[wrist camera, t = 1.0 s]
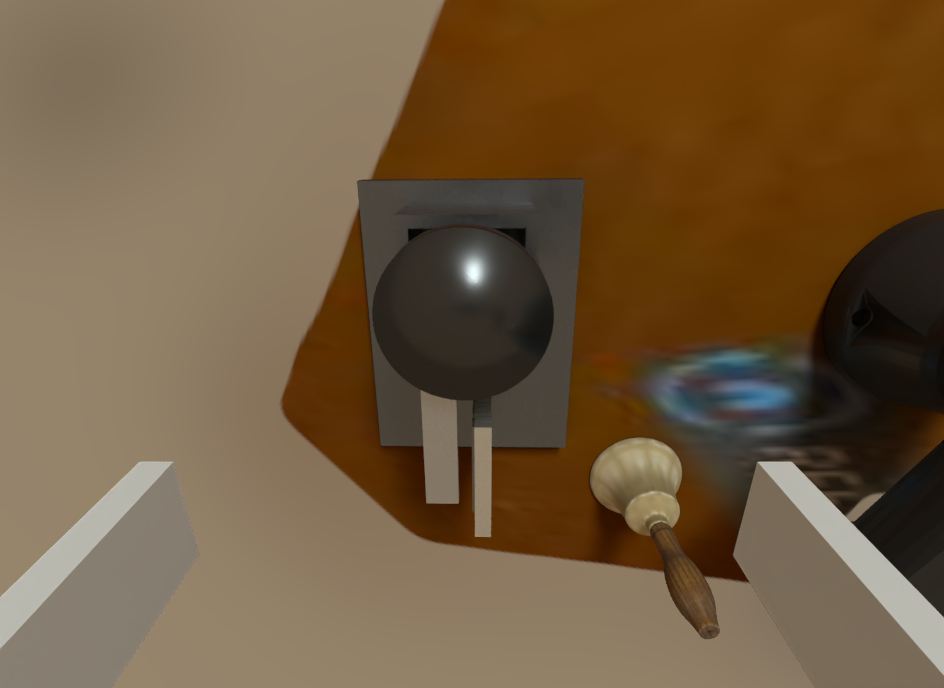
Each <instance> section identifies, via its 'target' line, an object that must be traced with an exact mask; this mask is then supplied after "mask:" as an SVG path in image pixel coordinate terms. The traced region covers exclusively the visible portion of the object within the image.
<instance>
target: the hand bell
mask: <svg viewBox="0 0 944 688" xmlns="http://www.w3.org/2000/svg"><path fill="white" fill-rule="evenodd" d="M681 478H682V467H681V463H680V460H679V458H678V456H677V455H676V454H675V452H674V451H673V450H672V449H671V448H670V447H669V446H667V445H666V444H664V443H662V442H660V441H657V440H654V439H650V438H630V439H625V440H622V441H619V442H617V443H615V444H613V445H611V446H610V447H608V448H607V449H606V450H604V451H603V452H602V453H601V454H600V455H599V456H598V458H597V459H596V461H595V462H594V464H593V466H592V469H591V473H590V486H591V489H592V492H593V494H594V496H595V497H596V498H597V500H598V501H599V502H600V503H601V504H603V505H604V506H605V507H607V508H608V509H610V510H612V511H614V512H617V513H620V514H622V516H623V517H624V519H625V521H626V522H627V524H628V526H629V527H630V528H631V529H632V530H634V531H635V532H637V533H639V534H642V535H647V536H651V537H652V539H653V540H654V542H655V544H656V546H657V548H658V550H659V552H660V554H661V556H662V559H663V563H664V574H665V580H666V584H667V587H668V589H669V592H670V595H671V597H672V599H673V601H674V603H675V605H676V607H677V608H678V609H679V611H680V612H681V614H682V615H683V616H684V617H685V618H686V619H687V620H688V621H689V622H690V623H691V625H692V626H693V627H694V628H695V629H696V631H697V632H698V633H699V635H700V636H701V637H702V638H704V639H711V638H715V637H716V636H717V635H718V634H719V632H720V629H719V626H718V622H717V615H716V607H715V601H714V598H713V595H712V592H711V589H710V587H709V585H708V583H707V581H706V580H705V578H704V576H703V575H702V573H701V572H700V570H699V569H698V568H697V566H696V565H695V564H694V563H693V562H692V561H691V560H690V559H689V558H688V557H687V556H686V555H685V554H684V553H683V551H682V549H681V548H680V546H679V543H678V541H677V539H676V537H675V534H674V533H673V530H672V527H673V526H674V525H675V524H676V522H677V520H678V518H679V513H680V509H679V505H678V502H677V499H676V496H675V494H676V492H677V490H678V488H679V486H680V483H681Z"/></svg>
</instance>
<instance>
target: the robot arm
mask: <svg viewBox="0 0 944 688" xmlns="http://www.w3.org/2000/svg"><path fill="white" fill-rule="evenodd" d="M823 333H824V342H825V346H826V350H827V353H828V355H829V358H830V360H831V361H832V363H833V365H834V366H835V367H836V369H837V370H838V371H839V372H840V373H841V374H842V375H843V376H844V377H845V378H846V379H848V380H849V381H851V382H852V383H854V384H855V385H857V386H858V387H860V388H861V389H863V390H864V391H866V392H868V393H869V394H871V395H873V396H875V397H877V398H880V399H882V400H885V401H888V402H891V403H895V404H900V405H904V406H908V407H912V408H917V409H921V410H925V411H930V412H934V413H939V414H943V415H944V209H941V210H936V211H931V212H928V213H924V214H921V215H918V216H915V217H913V218H910V219H908V220H906V221H904V222H902V223H900V224H898V225H896V226H894V227H892V228H890V229H889V230H887V231H886V232H884V233H883V234H881V235H880V236H878V237H877V238H876V239H874V240H873V241H872V242H871V243H869V244H868V245H867V246H866V247H865V248H864V249H863V250H862V251H861V252H860V253H859V254H858V255H857V256H856V257H855V258H854V259H853V260H852V261H851V263H850V264H849V265H848V266H847V268H846V269H845V270H844V272H843V273H842V275H841V276H840V278H839V280H838V281H837V283H836V285H835V287H834V289H833V291H832V293H831V295H830V298H829V301H828V304H827V307H826V311H825V316H824V324H823ZM198 556H199V551H198V547H197V544H196V541H195V537H194V533H193V530H192V526H191V523H190V519H189V516H188V512H187V509H186V505H185V502H184V498H183V495H182V491H181V487H180V484H179V480H178V477H177V473H176V469H175V466H174V462H139V463H138V464H137V465H136V466H135V467H134V468H133V469H132V470H131V471H130V472H129V473H127V474H126V475H125V476H124V477H123V478H122V480H120V481H119V482H118V483H117V484H116V485H115V486H114V487H113V488H112V489H111V490H110V491H109V492H108V493H107V494H106V495H105V496H104V497H103V498H102V499H101V500H100V501H99V502H98V503H97V504H96V505H95V506H94V507H92V508H91V509H90V510H89V511H88V512H87V513H86V514H85V515H84V516H83V517H82V518H81V519H80V520H79V521H78V522H77V523H76V524H75V525H74V526H73V527H72V528H71V529H70V530H69V531H68V532H67V533H66V534H65V535H64V536H63V537H62V538H61V539H60V540H58V542H56V543H55V544H54V546H52V547H51V548H50V549H49V550H48V551H47V552H46V553H45V554H44V555H43V556H42V557H41V558H40V559H39V560H38V561H37V562H36V563H35V564H34V565H33V566H32V567H31V568H30V569H29V570H28V571H27V572H26V573H25V574H24V575H22V576H21V578H19V579H18V580H17V581H16V582H15V583H14V584H13V585H12V586H11V587H10V588H9V589H8V590H7V591H6V592H5V593H4V594H3V595H2V596H1V597H0V688H112V687H113V686H114V684H115V683H116V681H117V679H118V678H119V677H120V675H121V674H122V672H123V671H124V669H125V667H126V666H127V664H128V663H129V661H130V660H131V658H132V657H133V655H134V654H135V652H136V651H137V649H138V648H139V646H140V645H141V643H142V642H143V640H144V639H145V637H146V635H147V634H148V632H149V631H150V629H151V628H152V626H153V625H154V623H155V622H156V620H157V619H158V617H159V615H160V614H161V613H162V611H163V610H164V608H165V607H166V605H167V603H168V602H169V600H170V599H171V597H172V596H173V594H174V593H175V591H176V590H177V588H178V587H179V585H180V584H181V582H182V581H183V579H184V578H185V576H186V575H187V573H188V571H189V570H190V569H191V567H192V565H193V564H194V562H195V561H196V559H197V558H198ZM733 556H734V558H735V559H736V561H737V563H738V564H739V566H740V567H741V569H742V571H743V572H744V574H745V576H746V577H747V579H748V580H749V582H750V584H751V585H752V587H753V588H754V590H755V592H756V593H757V595H758V597H759V598H760V600H761V601H762V603H763V605H764V606H765V608H766V609H767V611H768V613H769V614H770V616H771V617H772V619H773V621H774V622H775V624H776V626H777V627H778V629H779V630H780V632H781V634H782V635H783V637H784V639H785V640H786V642H787V643H788V645H789V647H790V648H791V650H792V651H793V653H794V654H795V656H796V658H797V659H798V661H799V663H800V664H801V666H802V668H803V669H804V671H805V672H806V674H807V676H808V677H809V679H810V681H811V682H812V684H813V685H814V687H815V688H944V440H943V441H942V442H941V443H940V444H939V445H938V446H937V447H935V448H934V449H933V450H932V451H931V452H930V453H929V454H928V455H927V456H926V457H924V458H923V459H922V460H921V461H920V462H919V463H918V464H917V465H916V466H915V467H914V468H912V469H911V470H910V471H909V472H908V473H907V474H906V475H905V476H904V477H903V478H901V479H900V480H899V481H898V482H897V483H896V484H895V485H894V486H893V487H892V488H891V489H889V490H888V491H887V492H886V493H885V494H884V495H883V496H882V497H881V498H880V499H879V500H878V501H876V502H875V503H874V504H873V505H872V506H871V507H870V508H869V509H868V510H866V511H865V512H864V513H863V514H862V515H861V516H860V517H859V518H858V519H857V520H856V521H854V522H852V521H849V520H848V519H847V518H846V517H845V516H844V515H843V514H842V513H841V512H840V511H839V510H838V509H837V508H836V507H835V506H834V505H833V503H832V502H831V501H830V500H829V499H828V498H827V497H826V496H825V495H824V494H823V493H822V492H821V491H820V490H819V489H818V488H817V487H816V486H815V485H814V484H813V483H812V482H811V481H810V480H809V479H808V478H807V477H806V476H805V475H804V474H803V473H802V472H801V471H800V470H799V469H798V468H797V467H796V466H795V465H794V464H793V463H792V462H757V465H756V469H755V473H754V477H753V480H752V484H751V488H750V492H749V496H748V500H747V503H746V507H745V511H744V515H743V519H742V522H741V526H740V530H739V534H738V538H737V542H736V545H735V549H734V553H733Z"/></svg>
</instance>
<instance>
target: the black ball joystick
mask: <svg viewBox="0 0 944 688" xmlns="http://www.w3.org/2000/svg"><path fill="white" fill-rule="evenodd" d="M372 321H373V327H374V332H375V336H376V339H377V342H378V344H379V347H380V349H381V351H382V353H383V355H384V356H385V358H386V360H387V361H388V362H389V364H390V365H391V366H392V367H393V369H394V370H395V371H396V372H397V373H398V374H399V375H400V376H401V377H402V378H403V379H405V380H406V381H407V382H409V383H410V384H411V385H413V386H415V387H416V388H418V389H420V390H421V409H422V428H423V447H424V466H425V485H426V503H441V504H459V454H458V407H457V400H462V401H467V400H478V399H484V398H488V397H492V396H495V395H498V394H500V393H503V392H505V391H507V390H509V389H511V388H512V387H514V386H516V385H517V384H518V383H520V382H521V381H522V380H524V379H525V378H526V377H527V376H528V375H529V374H530V373H531V372H532V371H533V370H534V369H535V367H536V366H537V365H538V364H539V362H540V361H541V359H542V357H543V355H544V354H545V352H546V350H547V347H548V345H549V342H550V339H551V335H552V331H553V323H554V308H553V301H552V296H551V293H550V289H549V286H548V284H547V282H546V279H545V277H544V275H543V273H542V271H541V268H540V267H539V265H538V264H537V262H536V261H535V259H534V258H533V257H532V255H531V254H530V253H529V252H528V251H527V250H526V249H525V248H524V247H523V246H522V245H521V244H520V243H519V242H517V241H516V240H514V239H513V238H511V237H510V236H508V235H506V234H504V233H502V232H500V231H498V230H496V229H493V228H490V227H487V226H482V225H477V224H466V223H460V224H449V225H444V226H439V227H436V228H434V229H431V230H428V231H426V232H424V233H422V234H420V235H418V236H417V237H415V238H414V239H412V240H411V241H409V242H408V243H407V244H406V245H405V246H404V247H403V248H402V249H401V250H400V251H399V252H398V253H397V254H396V255H395V257H394V258H393V259H392V260H391V262H390V263H389V264H388V265H387V267H386V268H385V270H384V272H383V273H382V275H381V277H380V279H379V282H378V284H377V286H376V290H375V294H374V298H373V306H372Z"/></svg>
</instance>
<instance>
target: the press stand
mask: <svg viewBox="0 0 944 688" xmlns="http://www.w3.org/2000/svg"><path fill="white" fill-rule="evenodd" d="M584 181H585V179H582V178H529V179H380V180H359V181H357V185H358V196H359V208H360V219H361V230H362V241H363V252H364V263H365V274H366V286H367V297H368V308H369V319H370V330H371V341H372V353H373V364H374V375H375V386H376V397H377V408H378V419H379V431H380V442H381V446H423V428H422V409H421V390H420V389H418V388H416V387H415V386H413V385H411V384H410V383H409V382H407V381H406V380H405V379H403V378H402V377H401V376H400V375H399V374H398V373H397V372H396V371H395V370H394V369H393V367H392V366H391V365H390V364H389V362H388V361H387V360H386V358H385V356H384V355H383V353H382V351H381V349H380V347H379V344H378V342H377V339H376V336H375V332H374V327H373V321H372V306H373V298H374V294H375V290H376V286H377V284H378V282H379V279H380V277H381V275H382V273H383V272H384V270H385V268H386V267H387V265H388V264H389V263H390V262H391V260H392V259H393V258H394V257H395V255H396V254H397V253H398V252H399V251H400V250H401V249H402V248H403V247H404V246H405V245H406V244H407V243H408V242H409V241H411V240H412V239H414V238H415V237H417V236H418V235H420V234H422V233H424V232H426V231H428V230H431V229H434V228H436V227H439V226H444V225H449V224H460V223H466V224H477V225H482V226H487V227H490V228H493V229H496V230H498V231H500V232H502V233H504V234H506V235H508V236H510V237H511V238H513V239H514V240H516V241H517V242H519V243H520V244H521V245H522V246H523V247H524V248H525V249H526V250H527V251H528V252H529V253H530V254H531V255H532V257H533V258H534V259H535V261H536V262H537V264H538V265H539V267H540V268H541V271H542V273H543V275H544V277H545V279H546V282H547V284H548V286H549V289H550V293H551V296H552V301H553V308H554V323H553V331H552V335H551V339H550V342H549V345H548V347H547V350H546V352H545V354H544V355H543V357H542V359H541V361H540V362H539V364H538V365H537V366H536V367H535V369H534V370H533V371H532V372H531V373H530V374H529V375H528V376H527V377H526V378H525V379H524V380H522V381H521V382H520V383H518V384H517V385H516V386H514V387H512V388H511V389H509V390H507V391H505V392H503V393H500V394H498V395H495V396H492V397H488V398H484V399H478V400H467V401H462V400H457V407H458V447H472V511H475V537H491V459H492V447H564V448H565V443H566V429H567V416H568V402H569V388H570V374H571V361H572V347H573V333H574V319H575V305H576V292H577V278H578V264H579V250H580V237H581V223H582V209H583V195H584Z"/></svg>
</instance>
